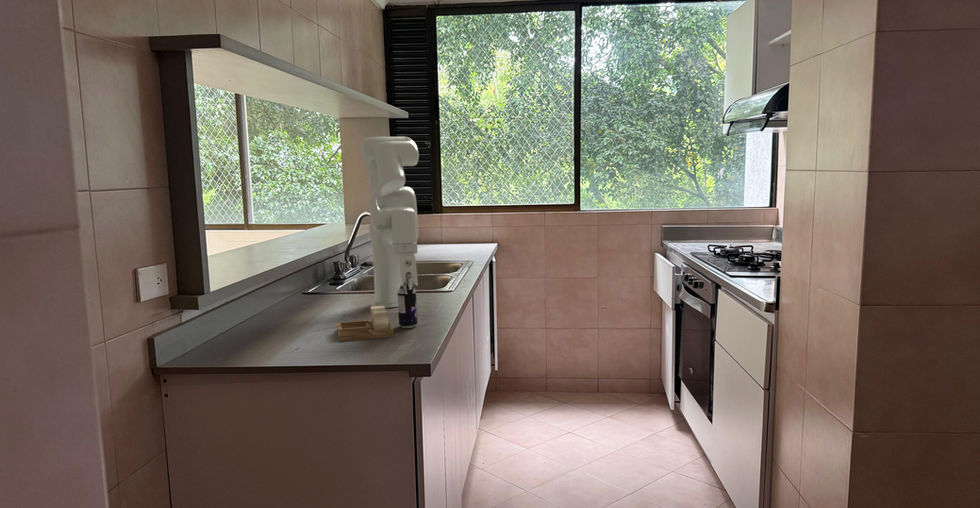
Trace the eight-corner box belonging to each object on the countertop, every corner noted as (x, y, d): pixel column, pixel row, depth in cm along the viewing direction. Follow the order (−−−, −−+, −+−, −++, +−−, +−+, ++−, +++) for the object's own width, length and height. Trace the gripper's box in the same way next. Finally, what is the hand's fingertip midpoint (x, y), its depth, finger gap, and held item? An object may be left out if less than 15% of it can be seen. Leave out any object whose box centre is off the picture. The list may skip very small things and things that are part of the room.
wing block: (371, 325, 199) (370, 306, 199) (384, 324, 200) (383, 305, 200) (375, 333, 190) (373, 313, 189) (388, 332, 191) (387, 312, 190)
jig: (336, 330, 199) (336, 321, 198) (387, 326, 203) (387, 316, 202) (339, 341, 185) (338, 331, 185) (393, 336, 189) (393, 326, 189)
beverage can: (414, 328, 198) (412, 290, 197) (396, 328, 199) (394, 290, 198) (419, 324, 204) (418, 286, 202) (402, 324, 205) (400, 286, 203)
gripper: (422, 250, 191) (424, 307, 193) (412, 245, 208) (415, 298, 209) (396, 252, 189) (399, 310, 191) (389, 247, 206) (391, 300, 207)
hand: (407, 304), depth 200 cm, fingers open, 9 cm apart
